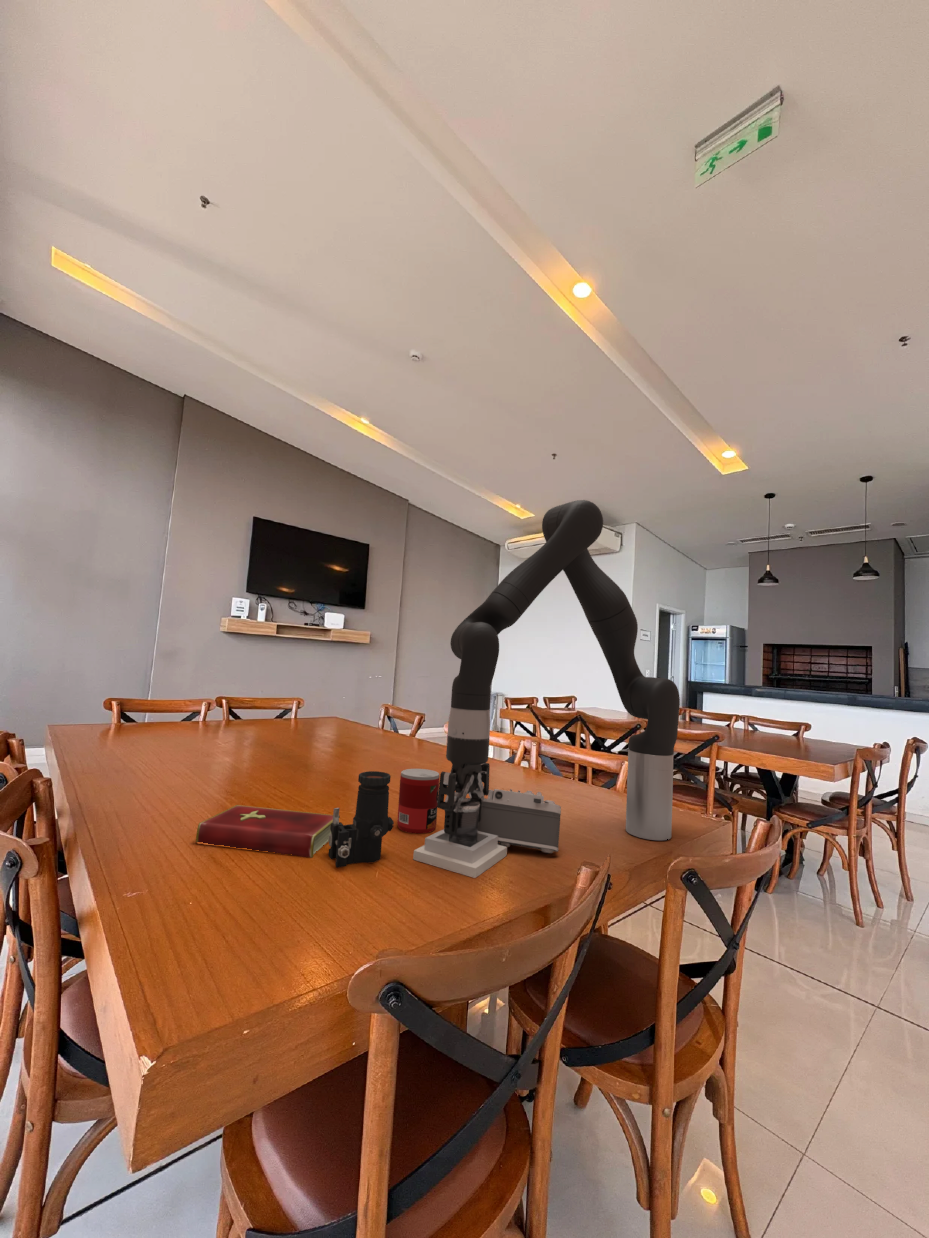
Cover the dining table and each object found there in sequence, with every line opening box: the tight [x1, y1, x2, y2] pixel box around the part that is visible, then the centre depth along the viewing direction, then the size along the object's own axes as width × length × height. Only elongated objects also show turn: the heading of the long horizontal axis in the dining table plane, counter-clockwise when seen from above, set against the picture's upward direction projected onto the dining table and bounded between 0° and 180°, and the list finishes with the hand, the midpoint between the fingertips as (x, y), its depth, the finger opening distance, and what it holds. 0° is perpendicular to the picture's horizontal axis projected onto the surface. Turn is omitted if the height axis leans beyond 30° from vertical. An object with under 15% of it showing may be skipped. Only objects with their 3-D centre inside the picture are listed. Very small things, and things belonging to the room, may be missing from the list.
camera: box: [478, 788, 562, 855], centre depth 98 cm, size 9×16×10 cm, turn 83°
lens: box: [449, 797, 480, 847], centre depth 90 cm, size 5×5×8 cm
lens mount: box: [412, 828, 508, 879], centre depth 89 cm, size 12×12×4 cm
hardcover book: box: [195, 804, 341, 859], centre depth 92 cm, size 12×21×4 cm, turn 83°
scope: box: [327, 770, 394, 868], centre depth 86 cm, size 8×14×10 cm
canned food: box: [396, 768, 440, 835], centre depth 104 cm, size 8×8×11 cm
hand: (462, 827), depth 89 cm, fingers open, 8 cm apart
